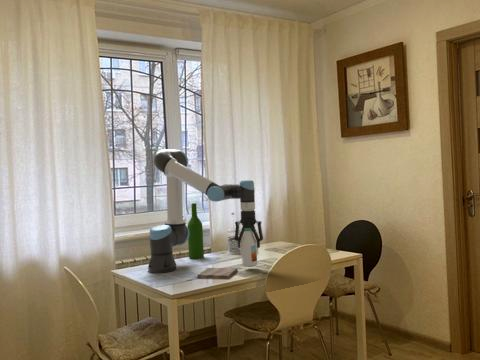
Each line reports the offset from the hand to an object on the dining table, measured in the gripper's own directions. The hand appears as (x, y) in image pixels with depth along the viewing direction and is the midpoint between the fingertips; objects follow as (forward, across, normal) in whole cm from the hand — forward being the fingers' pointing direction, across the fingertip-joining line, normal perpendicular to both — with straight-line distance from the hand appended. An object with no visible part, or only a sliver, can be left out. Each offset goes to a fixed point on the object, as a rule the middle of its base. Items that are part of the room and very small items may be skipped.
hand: (249, 253), depth 253 cm
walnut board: (+8, -14, -12) cm, 20 cm away
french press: (+9, -21, +46) cm, 51 cm away
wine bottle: (+9, -40, +29) cm, 51 cm away
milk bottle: (+6, 0, 0) cm, 6 cm away
